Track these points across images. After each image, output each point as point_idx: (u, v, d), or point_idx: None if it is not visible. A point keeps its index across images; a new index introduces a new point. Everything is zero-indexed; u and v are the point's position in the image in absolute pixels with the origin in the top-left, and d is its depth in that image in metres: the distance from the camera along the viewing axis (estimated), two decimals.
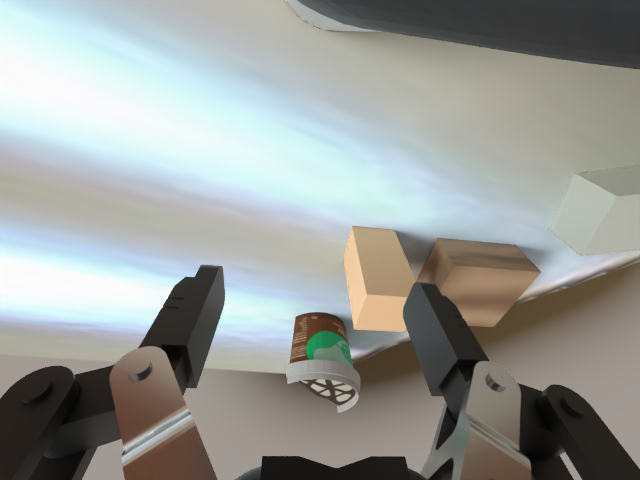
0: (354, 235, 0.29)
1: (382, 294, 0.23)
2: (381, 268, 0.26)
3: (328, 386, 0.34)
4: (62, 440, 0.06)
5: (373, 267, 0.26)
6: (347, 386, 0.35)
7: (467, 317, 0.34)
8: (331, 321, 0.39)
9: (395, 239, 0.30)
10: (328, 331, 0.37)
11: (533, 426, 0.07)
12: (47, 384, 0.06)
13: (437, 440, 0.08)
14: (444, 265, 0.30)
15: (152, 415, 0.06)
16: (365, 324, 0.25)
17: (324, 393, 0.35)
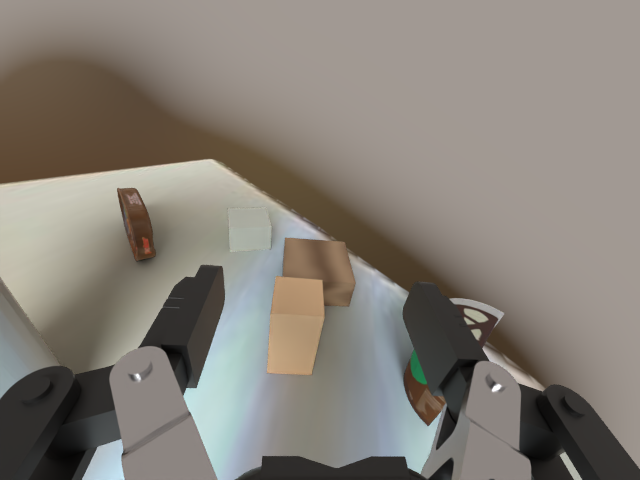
0: None
1: (272, 302, 0.26)
2: None
3: None
4: (62, 440, 0.06)
5: None
6: None
7: (339, 257, 0.42)
8: (406, 371, 0.32)
9: None
10: (410, 366, 0.30)
11: (533, 426, 0.07)
12: (47, 384, 0.06)
13: (437, 440, 0.08)
14: None
15: (152, 415, 0.06)
16: (315, 308, 0.26)
17: (474, 335, 0.27)
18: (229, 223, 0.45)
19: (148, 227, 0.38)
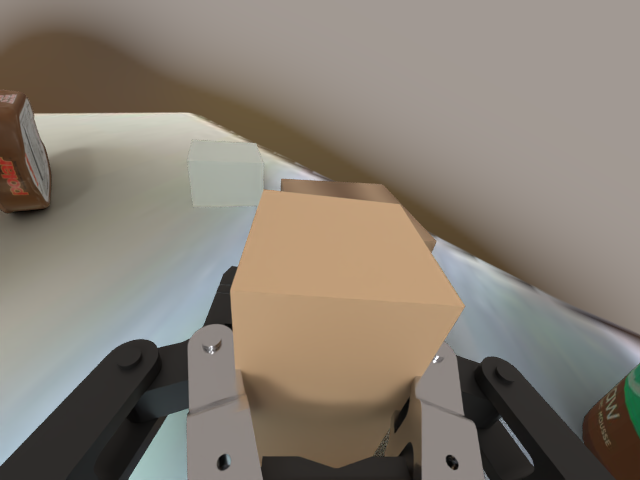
0: None
1: (243, 253, 0.07)
2: None
3: None
4: (140, 408, 0.07)
5: None
6: None
7: None
8: (606, 453, 0.12)
9: None
10: None
11: (467, 393, 0.08)
12: (137, 354, 0.07)
13: (394, 422, 0.08)
14: None
15: (215, 387, 0.06)
16: (415, 274, 0.07)
17: None
18: (190, 155, 0.26)
19: (13, 138, 0.19)
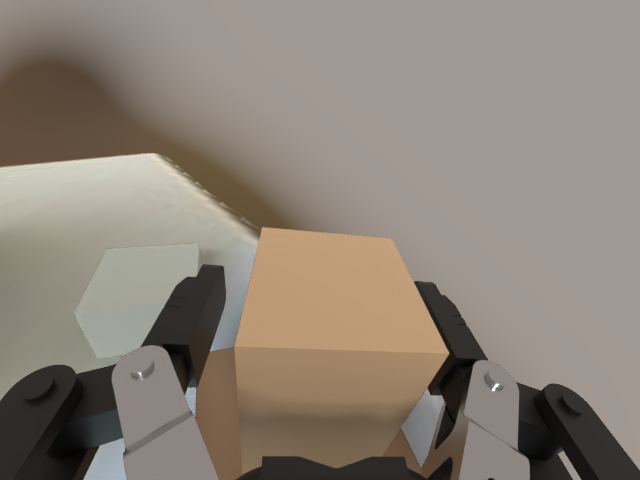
0: None
1: None
2: None
3: None
4: (64, 439, 0.06)
5: None
6: None
7: None
8: None
9: None
10: None
11: (531, 425, 0.07)
12: (50, 383, 0.06)
13: (436, 439, 0.08)
14: None
15: (154, 414, 0.06)
16: (404, 319, 0.07)
17: None
18: (85, 295, 0.18)
19: None
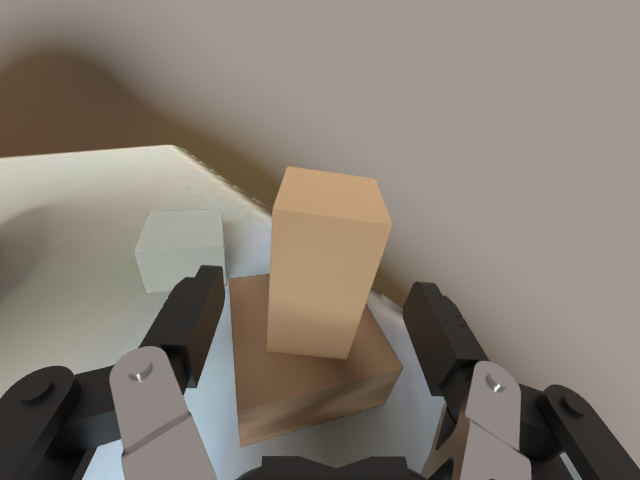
0: None
1: (277, 196, 0.12)
2: None
3: None
4: (62, 440, 0.06)
5: None
6: None
7: None
8: None
9: None
10: None
11: (533, 426, 0.07)
12: (47, 384, 0.06)
13: (437, 440, 0.08)
14: (263, 416, 0.15)
15: (152, 415, 0.06)
16: (370, 211, 0.12)
17: None
18: (139, 240, 0.24)
19: None
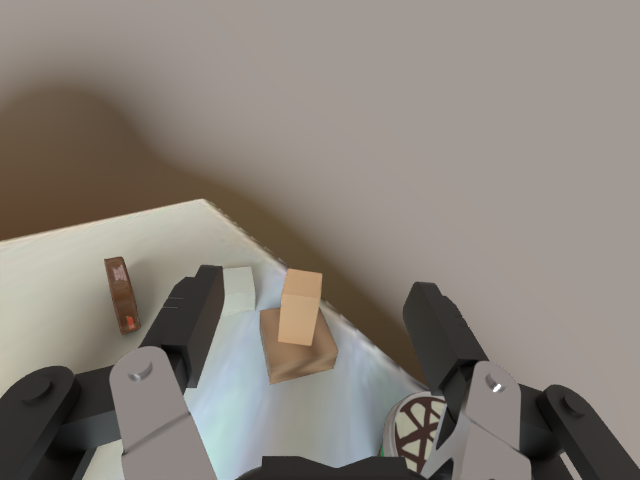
0: None
1: None
2: None
3: (421, 435, 0.28)
4: (62, 440, 0.06)
5: None
6: (415, 409, 0.30)
7: (316, 323, 0.44)
8: None
9: None
10: None
11: (533, 426, 0.07)
12: (47, 384, 0.06)
13: (437, 440, 0.08)
14: (280, 369, 0.38)
15: (152, 415, 0.06)
16: (314, 292, 0.36)
17: None
18: None
19: (132, 305, 0.40)
